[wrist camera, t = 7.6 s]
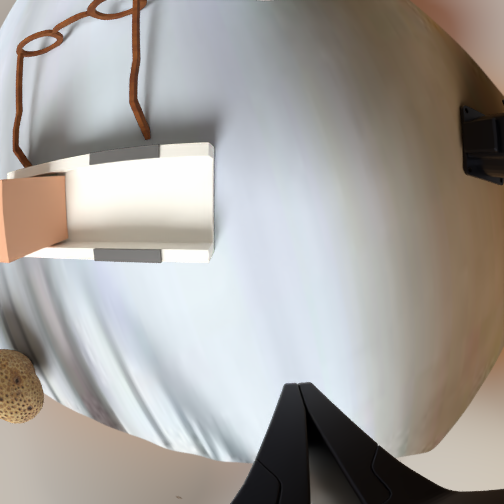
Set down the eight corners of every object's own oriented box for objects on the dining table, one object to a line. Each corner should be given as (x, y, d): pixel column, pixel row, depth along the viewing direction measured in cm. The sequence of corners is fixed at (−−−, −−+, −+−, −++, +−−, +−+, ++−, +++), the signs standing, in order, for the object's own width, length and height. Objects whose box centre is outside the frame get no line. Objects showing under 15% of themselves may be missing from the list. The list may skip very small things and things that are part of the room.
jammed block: (65, 175, 17) (2, 179, 10) (68, 238, 18) (9, 262, 11) (27, 182, 17) (-31, 190, 10) (31, 238, 18) (-24, 260, 11)
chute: (214, 147, 17) (207, 141, 14) (214, 252, 19) (208, 264, 16) (25, 172, 17) (5, 173, 14) (30, 249, 19) (11, 257, 16)
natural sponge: (48, 344, 21) (-4, 397, 12) (66, 400, 23) (31, 452, 14) (1, 322, 21) (-47, 360, 11) (20, 376, 23) (-16, 417, 13)
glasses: (155, 6, 14) (136, -24, 9) (153, 139, 17) (123, 127, 12) (39, 56, 14) (10, 43, 9) (31, 176, 17) (-7, 179, 13)
